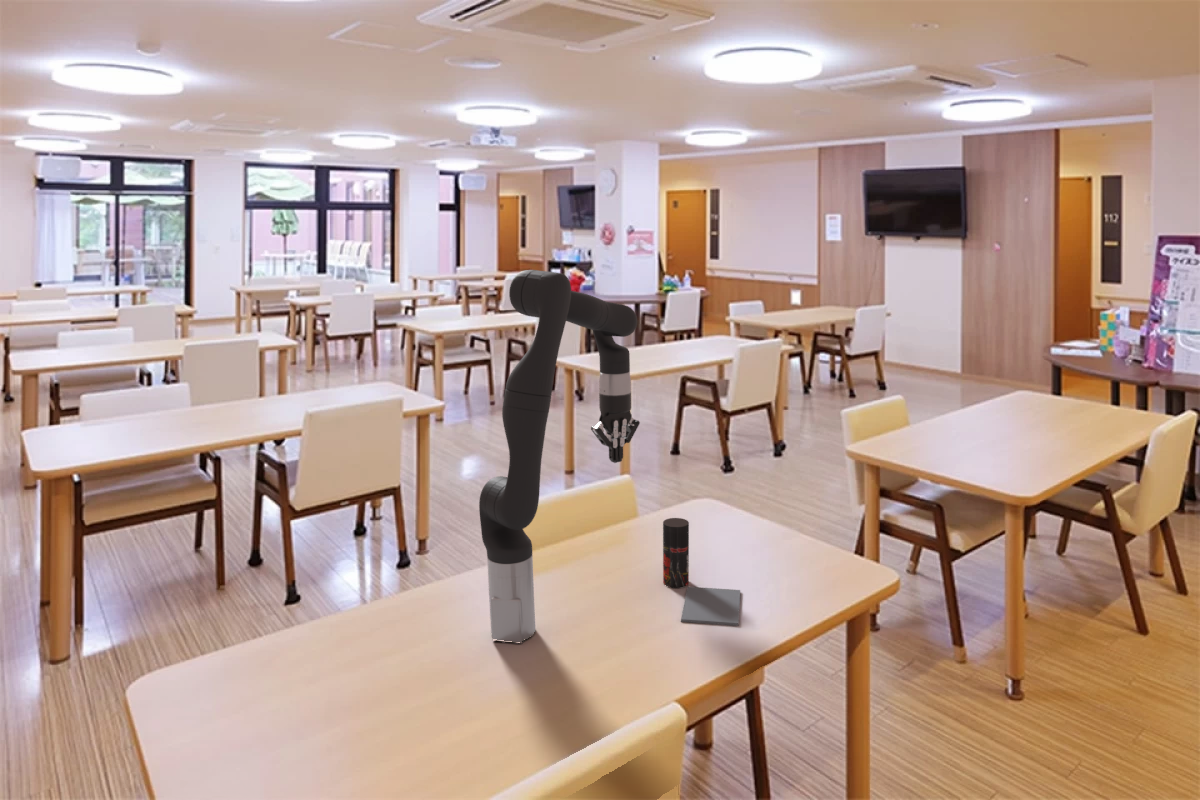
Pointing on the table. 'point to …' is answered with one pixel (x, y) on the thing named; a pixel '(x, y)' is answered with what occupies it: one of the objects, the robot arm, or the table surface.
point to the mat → (711, 606)
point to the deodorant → (676, 552)
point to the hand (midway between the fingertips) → (616, 461)
